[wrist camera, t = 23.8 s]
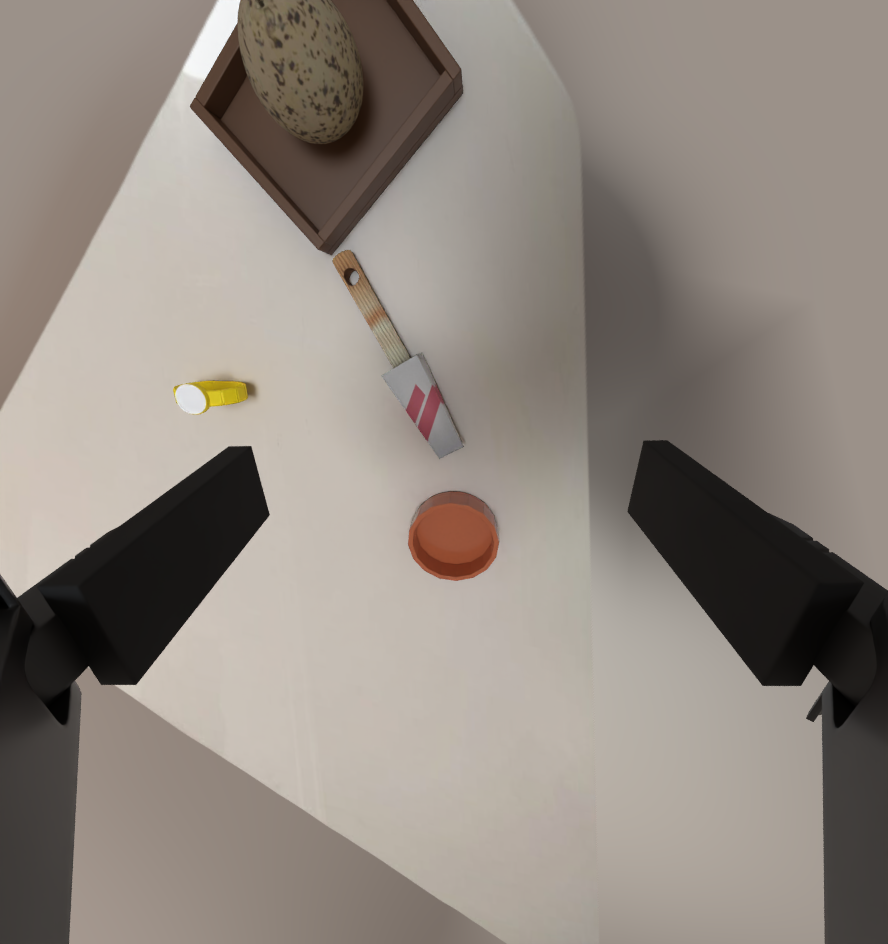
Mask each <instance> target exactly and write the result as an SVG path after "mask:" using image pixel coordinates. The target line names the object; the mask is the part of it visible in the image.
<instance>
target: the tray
mask: <svg viewBox="0 0 888 944" xmlns="http://www.w3.org/2000/svg"><path fill="white" fill-rule="evenodd" d="M331 1H332V2H333V4H334V5H335V6H336V7H337V9H338V10H339V12H340V13H341V15H342V16H343V18H344V19H345V21H346V23H347V25H348V27H349V28H350V31H351V33H352V35H353V37H354V40H355V43H356V46H357V48H358V52H359V56H360V60H361V64H362V72H363V98H362V104H361V108H360V111H359V114H358V117H357V119H356V121H355V123H354V125H353V126H352V127H351V129H350V130H349V131H348V132H347V133H346V134H345V135H344V136H343V137H341V138H340V139H338V140H336V141H334V142H331V143H327V144H314V143H309V142H306V141H303V140H301V139H299V138H297V137H295V136H293V135H292V134H290V133H289V132H287V131H286V130H285V129H284V128H282V127H281V126H280V125H279V124H278V123H277V122H276V121H275V120H274V119H273V118H272V116H271V115H270V114H269V113H268V112H267V110H266V109H265V108H264V106H263V105H262V103H261V102H260V100H259V98H258V97H257V95H256V93H255V91H254V89H253V87H252V85H251V83H250V80H249V78H248V75H247V73H246V70H245V67H244V64H243V60H242V56H241V52H240V46H239V39H238V23H237V25H236V26H235V28H234V30H233V32H232V33H231V35H230V37H229V39H228V40H227V42H226V44H225V46H224V47H223V49H222V51H221V53H220V54H219V56H218V58H217V60H216V61H215V63H214V65H213V67H212V68H211V70H210V72H209V74H208V75H207V77H206V79H205V81H204V82H203V84H202V86H201V88H200V90H199V91H198V93H197V95H196V98H194V100H193V102H192V104H191V105H190V108H191V109H192V110H193V111H194V112H195V113H196V115H197V116H198V117H199V118H200V119H201V120H202V121H203V122H204V123H205V125H206V126H207V127H208V128H209V129H210V130H211V131H212V132H213V133H214V135H215V136H216V137H217V138H218V139H219V140H220V141H221V142H222V143H223V145H224V146H225V147H226V148H227V149H228V150H229V151H230V152H231V153H232V155H233V156H234V157H235V158H236V159H237V160H238V161H239V162H240V163H241V165H242V166H243V167H244V168H245V169H246V170H247V171H248V172H249V173H250V175H251V176H252V177H253V178H254V179H255V180H256V181H257V182H258V183H259V185H260V186H261V187H262V188H263V189H264V190H265V191H266V192H267V193H268V195H269V196H270V197H271V198H272V199H273V200H274V201H275V202H276V203H277V205H278V206H279V207H280V208H281V209H282V210H283V211H284V212H285V213H286V215H287V216H288V217H289V218H290V219H291V220H292V221H293V222H294V223H295V225H296V226H297V227H298V228H299V229H300V230H301V231H302V232H303V233H304V235H305V236H306V237H307V238H308V239H309V240H310V241H311V242H312V243H313V245H314V246H315V247H316V248H317V249H318V250H321V251H323V252H325V253H328V254H330V255H332V254H333V252H334V251H335V250H336V249H337V247H338V246H339V245H340V244H341V242H342V241H343V240H344V239H345V238H346V236H347V235H348V234H349V233H350V231H351V230H352V229H353V228H354V226H355V225H356V224H357V223H358V222H359V220H360V219H361V218H362V217H363V215H364V214H365V213H366V212H367V210H368V209H369V208H370V207H371V206H372V204H373V203H374V202H375V201H376V199H377V198H378V197H379V196H380V194H381V193H382V192H383V191H384V190H385V188H386V187H387V186H388V185H389V183H390V182H391V181H392V180H393V178H394V177H395V176H396V175H397V174H398V172H399V171H400V170H401V169H402V167H403V166H404V165H405V164H406V163H407V161H408V160H409V159H410V158H411V156H412V155H413V154H414V153H415V151H416V150H417V149H418V148H419V147H420V145H421V144H422V143H423V142H424V140H425V139H426V138H427V137H428V135H429V134H430V133H431V132H432V131H433V129H434V128H435V127H436V126H437V124H438V123H439V122H440V121H441V119H442V118H443V117H444V116H445V115H446V113H447V112H448V111H449V110H450V108H451V107H452V106H453V105H454V103H455V102H456V101H457V100H458V99H459V97H460V96H461V95H462V94H463V85H462V72H461V68H460V67H459V65H458V64H457V62H456V61H455V59H454V58H453V57H452V55H451V54H450V52H449V51H448V50H447V48H446V47H445V45H444V44H443V42H442V41H441V40H440V38H439V37H438V35H437V34H436V32H435V31H434V30H433V28H432V27H431V25H430V24H429V22H428V21H427V20H426V18H425V17H424V15H423V14H422V12H421V11H420V10H419V8H418V7H417V5H416V4H415V3H414V1H413V0H331Z"/></svg>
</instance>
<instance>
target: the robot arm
mask: <svg viewBox="0 0 888 944" xmlns="http://www.w3.org/2000/svg"><path fill="white" fill-rule="evenodd" d="M628 513H629V514H630V516H631V517H632V518H633V519H634V521H635V522H636V523H637V524H638V526H639V527H640V528H641V530H642V531H643V532H644V534H645V535H646V536H647V537H648V539H649V540H650V541H651V543H652V544H653V545H654V546H655V548H656V549H657V550H658V552H659V553H660V554H661V555H662V557H663V558H664V559H665V561H666V562H667V563H668V564H669V566H670V567H671V568H672V569H673V571H674V572H675V573H676V575H677V576H678V577H679V579H680V580H681V581H682V582H683V584H684V585H685V586H686V588H687V589H688V590H689V591H690V593H691V594H692V595H693V597H694V598H695V599H696V601H697V602H698V603H699V604H700V606H701V607H702V608H703V609H704V611H705V612H706V613H707V615H708V616H709V617H710V618H711V620H712V621H713V622H714V624H715V625H716V626H717V628H718V629H719V630H720V631H721V633H722V634H723V635H724V637H725V638H726V639H727V640H728V642H729V643H730V644H731V645H732V647H733V648H734V649H735V651H736V652H737V653H738V654H739V656H740V657H741V658H742V660H743V661H744V662H745V664H746V665H747V666H748V667H749V669H750V670H751V671H752V673H753V674H754V675H755V676H756V678H757V679H758V680H759V682H760V683H761V684H762V685H763V686H801V685H802V683H803V682H804V680H805V678H806V677H807V675H808V674H809V672H810V670H811V669H812V667H813V665H814V666H815V667H816V668H817V669H818V670H819V671H820V672H821V673H822V674H823V675H824V676H825V677H826V678H827V679H828V680H829V682H828V684H827V685H826V687H825V688H824V690H823V691H822V693H821V694H820V696H819V697H818V699H817V700H816V702H815V703H814V705H813V706H812V708H811V709H810V711H809V713H808V715H807V718H806V719H808V720H810V721H812V722H814V720H815V719H816V718H817V716H818V715H821V714H822V745H823V746H822V747H823V749H822V750H823V751H822V752H823V830H824V831H823V834H824V909H825V910H824V913H825V914H824V915H825V916H824V918H825V944H888V590H886V589H885V588H883V587H882V586H880V585H879V584H878V583H876V582H875V581H873V580H872V579H870V578H869V577H868V576H866V575H865V574H863V573H862V572H860V571H859V570H858V569H856V568H855V567H853V566H852V565H850V564H849V563H847V562H846V561H845V560H843V559H842V558H841V557H839V556H837V555H836V554H835V553H833V552H831V553H830V552H829V549H828V548H826V547H825V546H823V545H822V544H820V543H819V542H818V541H813V538H812V537H811V536H809V535H808V534H806V533H805V532H803V531H802V530H800V529H799V528H798V527H796V526H795V525H793V524H791V523H789V522H787V521H785V520H783V519H780V518H778V517H776V516H774V515H771V514H770V513H767V512H766V511H764V510H763V509H761V508H760V507H759V506H757V505H756V504H755V503H753V502H752V501H751V500H749V499H748V498H746V497H745V496H744V495H742V494H741V493H739V492H738V491H737V490H735V489H734V488H732V487H731V486H729V485H728V484H727V483H726V482H724V481H723V480H721V479H720V478H718V477H717V476H716V475H714V474H713V473H711V472H710V471H709V470H707V469H706V468H704V467H703V466H702V465H701V464H699V463H698V462H696V461H695V460H694V459H692V458H691V457H689V456H688V455H687V454H685V453H684V452H683V451H681V450H680V449H678V448H677V447H676V446H674V445H673V444H671V443H670V442H669V441H666V440H665V441H663V440H660V441H643V446H642V450H641V454H640V459H639V463H638V468H637V472H636V476H635V481H634V485H633V489H632V494H631V499H630V503H629V507H628ZM269 515H270V514H269V511H268V507H267V503H266V500H265V496H264V492H263V488H262V485H261V481H260V477H259V473H258V470H257V466H256V462H255V459H254V455H253V451H252V447H251V446H232V447H228V448H226V449H225V450H223V451H222V452H221V453H219V454H218V455H217V456H215V457H214V458H213V459H211V460H210V461H208V462H207V463H206V464H204V465H203V466H202V467H200V468H199V469H197V470H196V471H195V472H193V473H192V474H191V475H189V476H188V477H186V478H185V479H184V480H182V481H181V482H180V483H178V484H177V485H176V486H174V487H173V488H171V489H170V490H169V491H167V492H166V493H165V494H163V495H162V496H160V497H159V498H158V499H156V500H155V501H154V502H152V503H151V504H149V505H148V506H147V507H145V508H144V509H143V510H141V511H140V512H139V513H137V514H136V515H134V516H133V517H132V518H130V519H129V520H128V521H126V522H125V523H123V524H122V525H121V526H119V527H117V528H115V529H113V530H111V531H109V532H108V533H106V534H105V535H104V536H102V537H101V538H99V539H98V540H97V541H95V542H94V543H92V544H91V545H90V548H86V549H84V550H83V551H81V552H80V553H79V554H77V555H76V556H75V559H70V560H69V561H68V562H66V563H65V564H63V565H62V566H61V567H59V568H58V569H56V570H55V571H54V572H52V573H51V574H50V575H48V576H47V577H45V578H44V579H43V580H41V581H40V582H39V583H37V584H36V585H34V586H33V587H32V588H30V589H29V590H27V591H26V592H25V593H23V594H22V595H21V596H19V597H18V598H17V597H16V596H15V595H14V593H13V592H12V590H11V589H10V587H9V586H8V585H7V583H6V582H5V580H4V579H3V577H2V576H1V575H0V944H69V932H70V912H71V892H72V891H71V890H72V871H73V850H74V831H75V812H76V793H77V772H78V753H79V733H80V713H81V691H80V688H79V686H78V685H77V683H76V682H75V680H76V679H77V678H78V677H79V676H80V675H81V674H82V672H83V671H84V670H85V669H86V668H87V667H88V666H89V667H90V669H91V670H92V671H93V673H94V675H95V676H96V678H97V679H98V681H99V682H100V684H101V685H136V684H137V683H138V682H139V681H140V679H141V678H142V677H143V675H144V674H145V673H146V672H147V670H148V669H149V668H150V667H151V665H152V664H153V663H154V661H155V660H156V659H157V658H158V656H159V655H160V654H161V653H162V651H163V650H164V649H165V647H166V646H167V645H168V644H169V642H170V641H171V640H172V639H173V637H174V636H175V635H176V633H177V632H178V631H179V630H180V628H181V627H182V626H183V625H184V623H185V622H186V621H187V620H188V618H189V617H190V616H191V614H192V613H193V612H194V611H195V609H196V608H197V607H198V606H199V604H200V603H201V602H202V600H203V599H204V598H205V597H206V595H207V594H208V593H209V592H210V590H211V589H212V588H213V586H214V585H215V584H216V583H217V581H218V580H219V579H220V578H221V576H222V575H223V574H224V572H225V571H226V570H227V569H228V567H229V566H230V565H231V564H232V562H233V561H234V560H235V558H236V557H237V556H238V555H239V553H240V552H241V551H242V550H243V548H244V547H245V546H246V544H247V543H248V542H249V541H250V539H251V538H252V537H253V536H254V534H255V533H256V532H257V530H258V529H259V528H260V527H261V525H262V524H263V523H264V522H265V520H266V519H267V518H268V516H269Z"/></svg>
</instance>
